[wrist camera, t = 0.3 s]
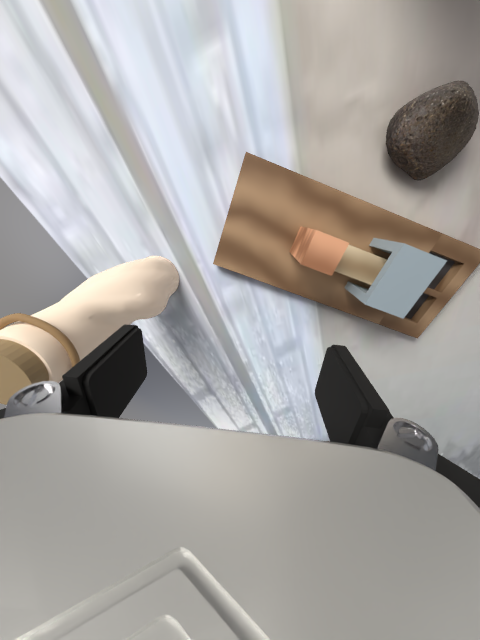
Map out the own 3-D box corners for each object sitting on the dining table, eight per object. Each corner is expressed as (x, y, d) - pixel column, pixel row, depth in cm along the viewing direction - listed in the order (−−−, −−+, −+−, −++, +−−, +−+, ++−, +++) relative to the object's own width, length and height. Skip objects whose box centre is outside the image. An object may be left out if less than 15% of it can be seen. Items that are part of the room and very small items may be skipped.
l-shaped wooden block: (300, 226, 34) (317, 230, 24) (404, 267, 35) (456, 285, 26) (289, 251, 35) (301, 264, 26) (389, 290, 37) (432, 314, 28)
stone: (442, 136, 33) (489, 37, 24) (464, 178, 30) (526, 82, 21) (367, 159, 35) (384, 78, 26) (380, 199, 32) (404, 123, 24)
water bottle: (171, 313, 43) (55, 449, 18) (127, 293, 42) (-63, 409, 17) (190, 267, 39) (72, 359, 14) (142, 243, 38) (-83, 297, 13)
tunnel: (373, 237, 34) (404, 243, 27) (408, 251, 34) (447, 260, 27) (344, 287, 37) (364, 304, 30) (376, 299, 38) (403, 318, 31)
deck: (246, 155, 32) (245, 151, 30) (476, 250, 35) (488, 252, 33) (215, 261, 39) (213, 263, 37) (410, 333, 42) (417, 338, 40)
